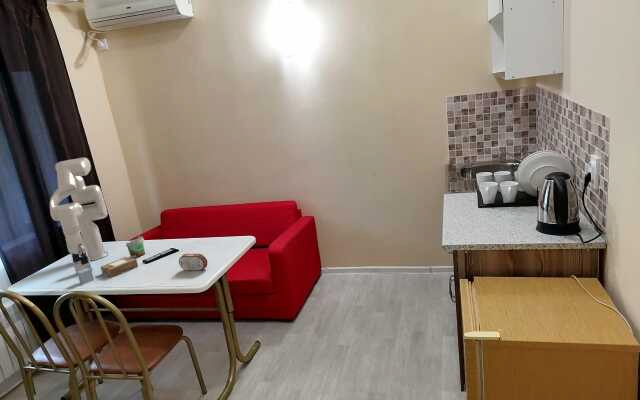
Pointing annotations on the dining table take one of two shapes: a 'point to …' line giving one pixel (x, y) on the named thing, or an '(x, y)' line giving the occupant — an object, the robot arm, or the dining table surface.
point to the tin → (193, 262)
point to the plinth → (119, 266)
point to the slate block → (85, 276)
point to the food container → (136, 247)
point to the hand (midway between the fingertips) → (81, 262)
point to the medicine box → (79, 266)
